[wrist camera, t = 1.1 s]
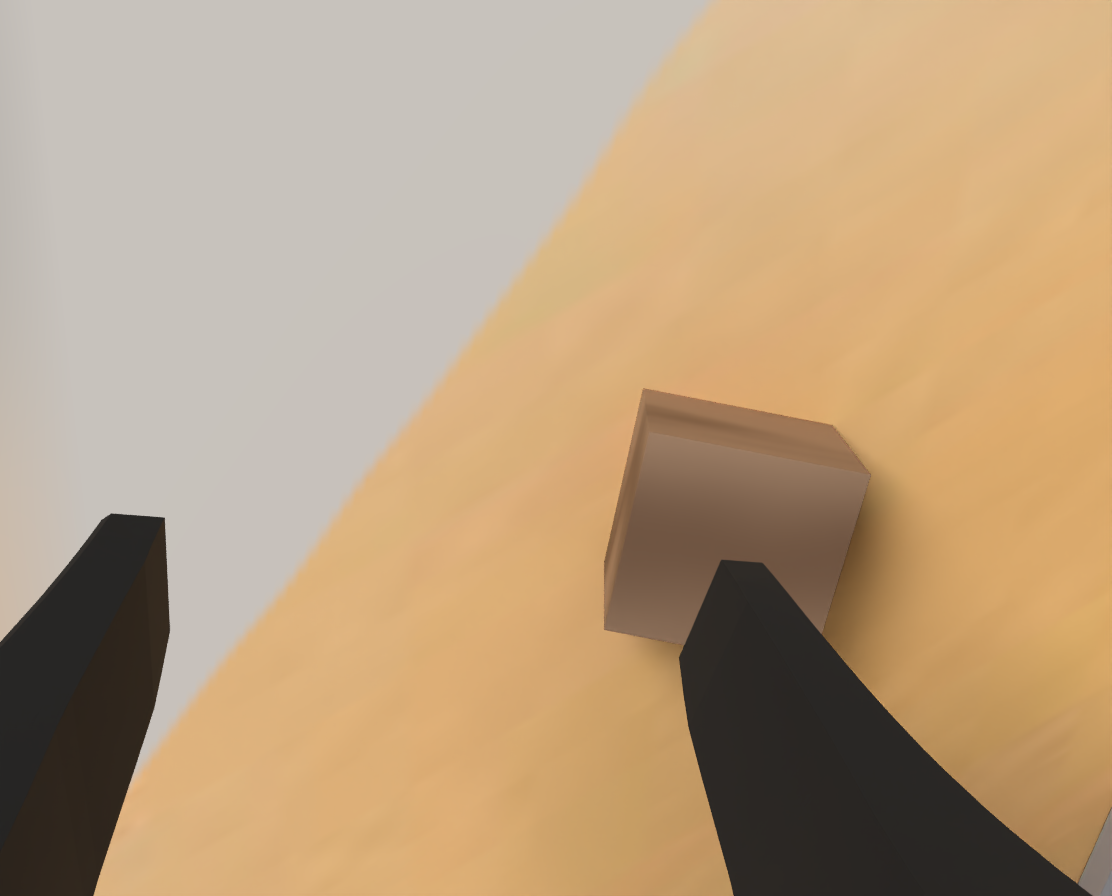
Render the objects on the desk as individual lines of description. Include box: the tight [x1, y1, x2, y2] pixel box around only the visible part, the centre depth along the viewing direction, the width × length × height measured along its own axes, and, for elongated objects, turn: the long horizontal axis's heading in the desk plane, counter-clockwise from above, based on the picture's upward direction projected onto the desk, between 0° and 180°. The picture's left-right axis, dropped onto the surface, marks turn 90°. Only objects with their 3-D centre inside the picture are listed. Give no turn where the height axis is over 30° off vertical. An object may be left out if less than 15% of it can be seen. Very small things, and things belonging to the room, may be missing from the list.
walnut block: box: [604, 388, 871, 645], centre depth 24 cm, size 5×5×4 cm
